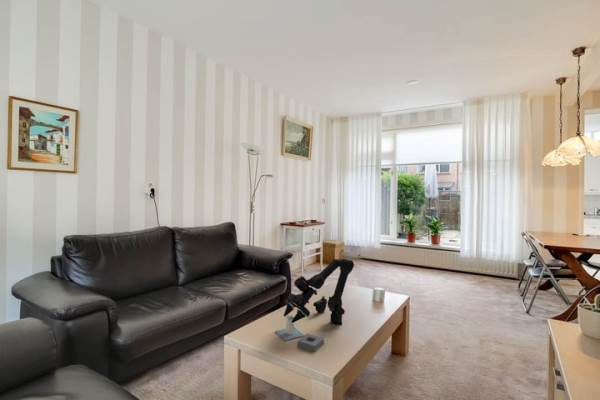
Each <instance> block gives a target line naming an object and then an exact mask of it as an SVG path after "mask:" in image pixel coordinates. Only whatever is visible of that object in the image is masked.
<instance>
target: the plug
mask: <svg viewBox="0 0 600 400" xmlns="http://www.w3.org/2000/svg"><path fill="white" fill-rule="evenodd" d="M294 317H295V316H292V315H287V316H286V322H285V329H286V333H287V334H288V335H290V334H293V331H294V327H295V326H294V325H295V322H294V323H292V320H293V318H294Z"/></svg>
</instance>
